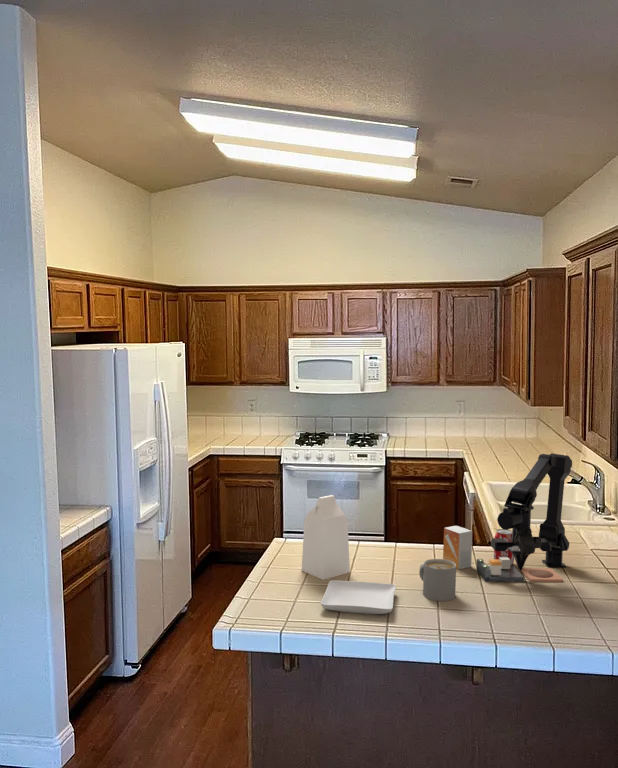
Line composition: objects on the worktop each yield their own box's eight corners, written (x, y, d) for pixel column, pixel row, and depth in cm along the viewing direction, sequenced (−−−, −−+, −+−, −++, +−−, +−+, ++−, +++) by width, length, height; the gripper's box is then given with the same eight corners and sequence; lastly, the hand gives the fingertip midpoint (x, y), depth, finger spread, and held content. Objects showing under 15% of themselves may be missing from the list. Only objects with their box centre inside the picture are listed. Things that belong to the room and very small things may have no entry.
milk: (323, 579, 230) (324, 502, 228) (301, 570, 238) (302, 496, 237) (349, 572, 237) (351, 497, 235) (327, 563, 246) (328, 491, 244)
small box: (442, 563, 248) (443, 527, 247) (455, 560, 251) (456, 525, 250) (458, 569, 241) (459, 533, 240) (471, 567, 244) (472, 530, 243)
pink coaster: (519, 570, 241) (519, 567, 241) (550, 570, 241) (550, 568, 241) (530, 581, 230) (530, 579, 230) (562, 581, 230) (563, 579, 230)
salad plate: (329, 588, 222) (329, 578, 222) (396, 593, 219) (396, 583, 219) (319, 615, 202) (319, 603, 201) (392, 620, 198) (393, 609, 198)
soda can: (518, 566, 245) (519, 533, 244) (501, 568, 243) (502, 534, 242) (505, 560, 252) (506, 527, 251) (489, 562, 249) (490, 529, 248)
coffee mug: (461, 598, 214) (462, 566, 214) (434, 603, 211) (435, 570, 210) (437, 584, 227) (438, 554, 226) (411, 588, 223) (412, 557, 222)
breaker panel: (476, 570, 240) (476, 557, 240) (513, 570, 241) (514, 557, 240) (485, 581, 230) (485, 567, 229) (524, 581, 230) (524, 568, 229)
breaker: (488, 572, 233) (489, 559, 233) (498, 572, 233) (498, 559, 233) (491, 575, 231) (491, 562, 230) (500, 575, 231) (501, 562, 230)
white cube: (499, 566, 239) (499, 557, 239) (507, 566, 239) (508, 557, 239) (501, 569, 237) (501, 559, 237) (510, 569, 237) (510, 559, 237)
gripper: (500, 530, 223) (499, 578, 224) (558, 531, 223) (556, 578, 224) (491, 521, 234) (489, 566, 235) (545, 521, 234) (544, 566, 235)
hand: (520, 569), depth 232 cm, fingers closed
